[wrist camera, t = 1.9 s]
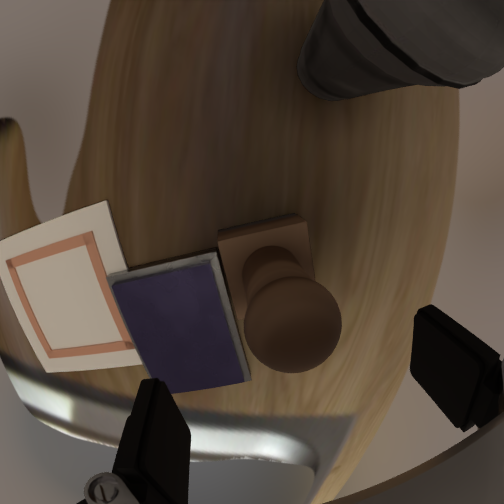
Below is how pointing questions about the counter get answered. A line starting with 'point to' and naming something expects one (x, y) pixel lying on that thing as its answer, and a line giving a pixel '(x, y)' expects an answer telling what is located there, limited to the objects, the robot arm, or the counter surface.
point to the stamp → (279, 293)
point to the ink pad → (182, 321)
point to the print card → (69, 290)
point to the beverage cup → (400, 45)
